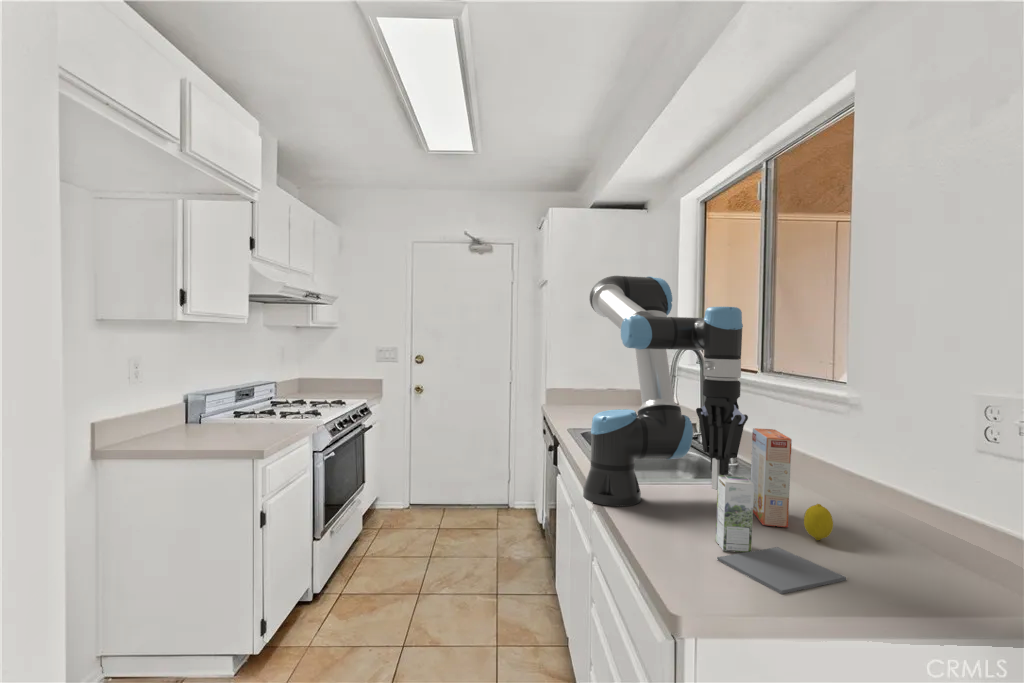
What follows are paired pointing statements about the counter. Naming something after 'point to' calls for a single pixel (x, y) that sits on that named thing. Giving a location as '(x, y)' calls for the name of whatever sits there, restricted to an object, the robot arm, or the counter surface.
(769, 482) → the cracker box
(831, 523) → the lemon
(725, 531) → the syrup box
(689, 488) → the counter surface
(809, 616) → the counter surface
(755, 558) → the mat
